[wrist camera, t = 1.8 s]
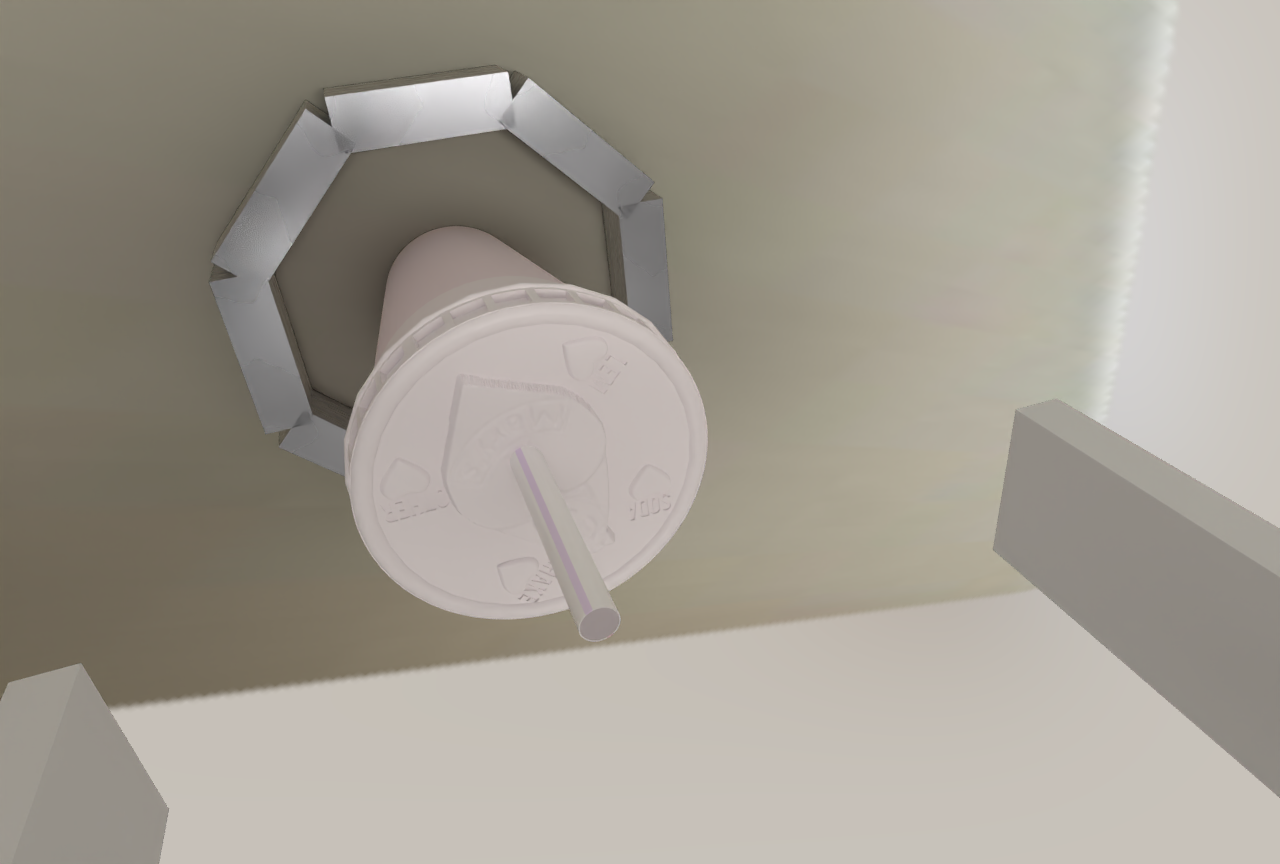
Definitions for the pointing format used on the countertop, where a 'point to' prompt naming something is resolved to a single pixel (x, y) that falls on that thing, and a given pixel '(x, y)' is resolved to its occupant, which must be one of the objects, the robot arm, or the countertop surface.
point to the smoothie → (517, 437)
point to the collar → (389, 121)
